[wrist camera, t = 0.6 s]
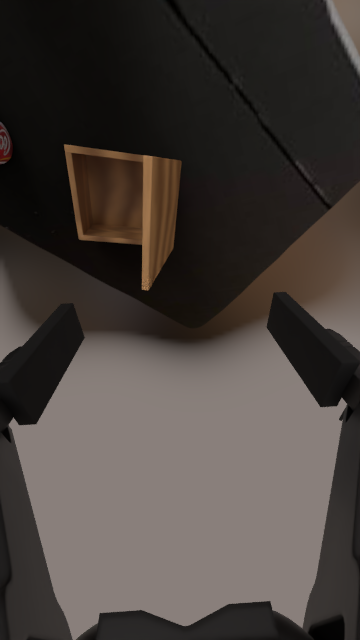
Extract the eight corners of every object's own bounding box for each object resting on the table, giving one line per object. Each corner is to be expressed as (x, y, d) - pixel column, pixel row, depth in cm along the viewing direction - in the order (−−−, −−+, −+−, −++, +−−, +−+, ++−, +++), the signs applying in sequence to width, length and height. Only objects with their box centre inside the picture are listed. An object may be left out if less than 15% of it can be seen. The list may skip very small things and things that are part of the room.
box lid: (141, 289, 25) (148, 290, 25) (143, 155, 18) (152, 156, 18) (168, 247, 39) (173, 248, 39) (176, 160, 31) (181, 160, 31)
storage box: (90, 226, 44) (78, 239, 37) (80, 146, 36) (63, 144, 29) (167, 233, 46) (170, 247, 39) (173, 159, 39) (178, 160, 32)
